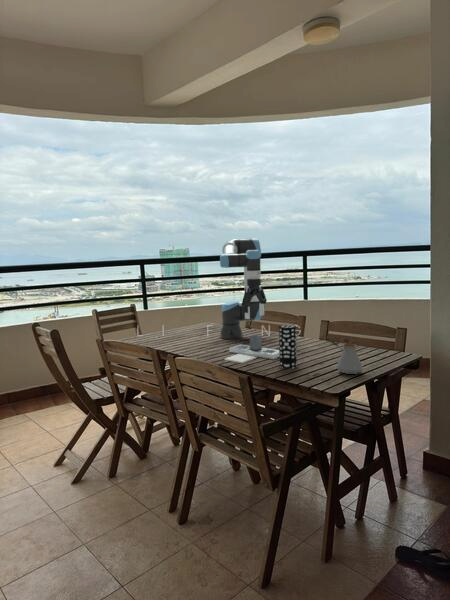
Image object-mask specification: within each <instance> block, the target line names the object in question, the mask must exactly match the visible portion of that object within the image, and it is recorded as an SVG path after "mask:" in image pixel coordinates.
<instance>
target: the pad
mask: <svg viewBox="0 0 450 600" xmlns="http://www.w3.org/2000/svg"><path fill="white" fill-rule="evenodd" d="M256 359H257V357H256V356H250V355H244V354H238V353H236V354H234V355H231V356H228V357H225V358H224V361H227V362H234V363H238V364H245V363H248V362H250V361H252V360H253V361H254V360H256Z"/></svg>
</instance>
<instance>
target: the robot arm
mask: <svg viewBox="0 0 450 600" xmlns="http://www.w3.org/2000/svg"><path fill="white" fill-rule="evenodd" d="M221 251H222V253H223V254H220V256H219V261H220V262H219V264H220V265H219V266H220V268H222V269H223V268H224V269H225V268H226V269H227V268H228V269H229V268H243V285H244V289H243V290H244V294H243V298H242V301H241V303H240V301H238V300H237V301H235V300H234V301H229V302H225V303H223V304H222V306H221V315H222V316H221V317H222V318H221V319H222V320H221V325H222V327H221V329H220V333H219V337H220V338H221V339H224V340H237V339H242V338H243V337H244V336H243V335H244V334H243V331H242V327H241V324H240V322H251V321H252V322H255V321H260V320H261V319H262V316H265V304H266V303H267V302H268V301H267V298H266V294H265V291H264V286H263V285H262V279H261V275H262V272H261V257H262V248H261V243H260V240H259V239H258V238H254V237H253V238H252V237H251V238H234V239H230V240H229V241H227V242H226V243H224V244H223V246H222V250H221Z"/></svg>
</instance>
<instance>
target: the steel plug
mask: <svg viewBox="0 0 450 600" xmlns="http://www.w3.org/2000/svg"><path fill="white" fill-rule="evenodd" d="M262 345H263V344H262V335H258V334H253V335H250V336H249V346H250V350H253V351H259V350H262V348H263V347H262Z"/></svg>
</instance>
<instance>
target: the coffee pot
mask: <svg viewBox="0 0 450 600" xmlns="http://www.w3.org/2000/svg"><path fill="white" fill-rule="evenodd" d="M323 340H327V341H329V342H330V343H331V344H333V345H335V346H336V347H337V348H338V349H340V350H341V351H342V354H341V355H340V357H339V359H338V362H337V364H336V368H337V370H338V371H339V372H340V373H341V372H342V373H347V374H355V373H358V374H359V373H361V372H362V371H363V367H364V366H363V364H362V362H361V360H360V358H359V355H358V353H357V351H356V349H357V347H358V346H357V344H355V343H344V344H342V345H339V344H338V343H337V342H335V341H334V340H333V339H331V338H330V337H328V336H326V335H324V337H323ZM342 373H341V374H342Z"/></svg>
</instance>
